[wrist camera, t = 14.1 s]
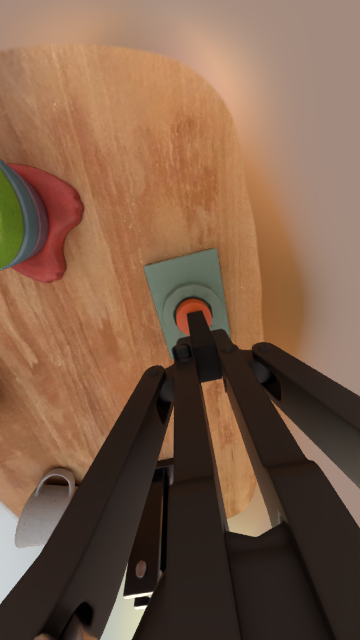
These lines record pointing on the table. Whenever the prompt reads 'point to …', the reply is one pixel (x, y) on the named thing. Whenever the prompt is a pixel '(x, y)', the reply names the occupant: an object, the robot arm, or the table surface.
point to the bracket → (150, 539)
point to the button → (189, 307)
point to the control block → (187, 290)
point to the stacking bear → (35, 221)
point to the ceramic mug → (44, 510)
